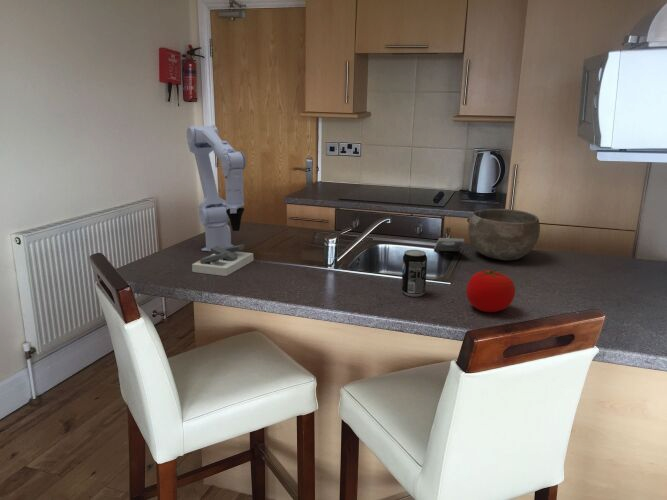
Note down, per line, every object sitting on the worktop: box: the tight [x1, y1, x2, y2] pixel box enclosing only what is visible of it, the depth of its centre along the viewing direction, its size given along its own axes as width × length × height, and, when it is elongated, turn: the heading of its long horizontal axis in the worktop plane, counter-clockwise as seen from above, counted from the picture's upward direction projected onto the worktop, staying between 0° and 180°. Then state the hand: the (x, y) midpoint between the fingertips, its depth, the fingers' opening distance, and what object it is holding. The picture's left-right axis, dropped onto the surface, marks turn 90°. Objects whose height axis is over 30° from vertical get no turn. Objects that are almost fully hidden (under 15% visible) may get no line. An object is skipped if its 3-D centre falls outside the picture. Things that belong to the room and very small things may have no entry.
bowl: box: [466, 208, 541, 262], centre depth 190 cm, size 24×24×15 cm
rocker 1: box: [199, 252, 228, 263], centre depth 172 cm, size 4×8×1 cm, turn 71°
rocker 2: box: [209, 246, 238, 261], centre depth 177 cm, size 4×8×1 cm, turn 71°
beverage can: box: [401, 249, 428, 298], centre depth 153 cm, size 7×7×12 cm
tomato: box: [465, 270, 516, 313], centre depth 142 cm, size 11×12×10 cm
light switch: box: [433, 237, 465, 252], centre depth 191 cm, size 8×6×14 cm
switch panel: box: [191, 251, 254, 277], centre depth 178 cm, size 18×12×3 cm, turn 161°
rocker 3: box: [223, 243, 245, 252], centre depth 182 cm, size 4×8×1 cm, turn 71°
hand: (236, 230), depth 182 cm, fingers closed
